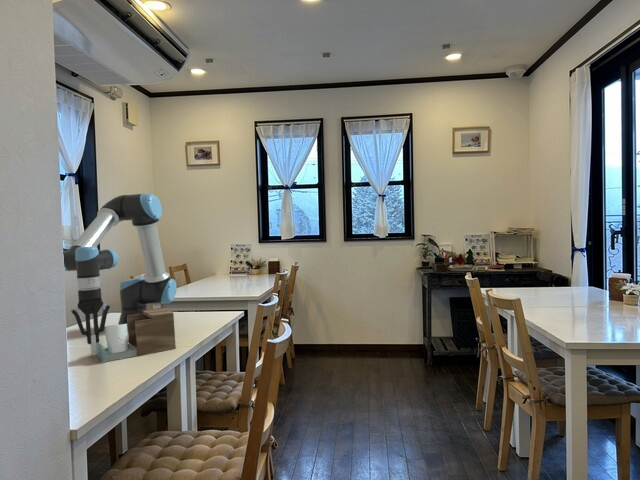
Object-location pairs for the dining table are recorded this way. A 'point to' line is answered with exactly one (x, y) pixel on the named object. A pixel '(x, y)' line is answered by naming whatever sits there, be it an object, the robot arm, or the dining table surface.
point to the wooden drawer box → (152, 331)
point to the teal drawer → (106, 356)
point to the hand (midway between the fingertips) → (94, 352)
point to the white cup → (116, 338)
